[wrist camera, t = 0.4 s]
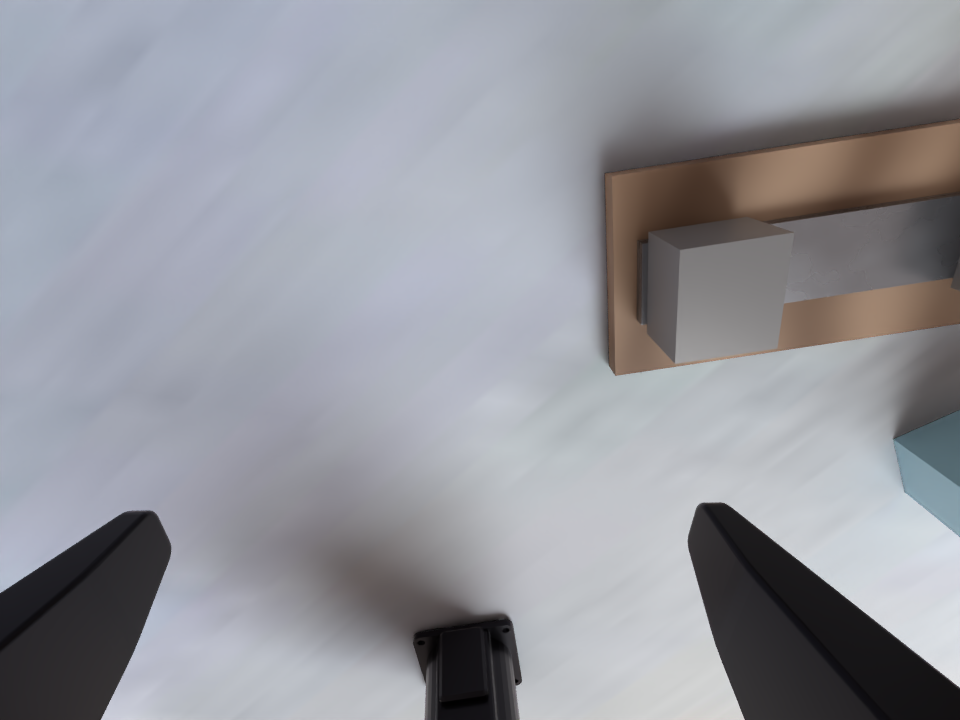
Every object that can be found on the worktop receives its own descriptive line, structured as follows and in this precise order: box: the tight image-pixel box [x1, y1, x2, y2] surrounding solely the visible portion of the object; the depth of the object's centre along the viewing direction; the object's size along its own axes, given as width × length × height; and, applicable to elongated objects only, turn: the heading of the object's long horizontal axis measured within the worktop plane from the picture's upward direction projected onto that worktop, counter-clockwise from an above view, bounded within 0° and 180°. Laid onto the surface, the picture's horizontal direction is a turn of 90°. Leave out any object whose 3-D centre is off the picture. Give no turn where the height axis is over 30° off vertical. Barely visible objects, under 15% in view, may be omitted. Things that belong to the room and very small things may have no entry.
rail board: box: [605, 119, 960, 376], centre depth 22 cm, size 20×9×1 cm, turn 98°
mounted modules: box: [647, 217, 960, 364], centre depth 19 cm, size 18×4×3 cm, turn 98°
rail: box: [637, 191, 960, 325], centre depth 21 cm, size 18×4×1 cm, turn 98°
